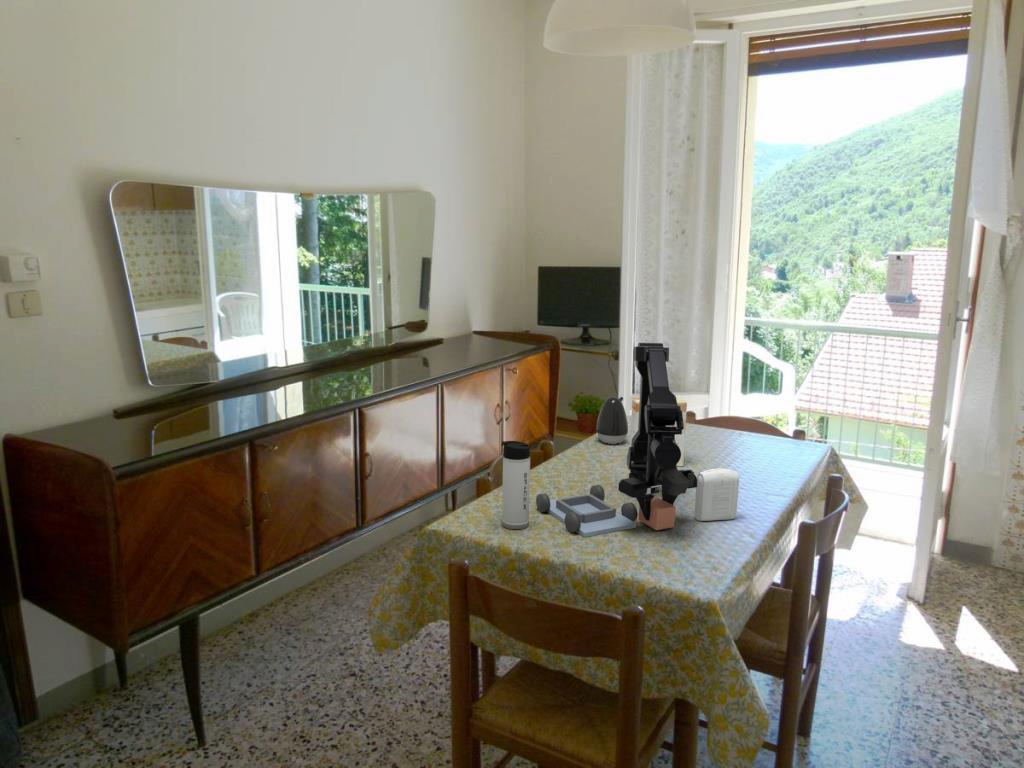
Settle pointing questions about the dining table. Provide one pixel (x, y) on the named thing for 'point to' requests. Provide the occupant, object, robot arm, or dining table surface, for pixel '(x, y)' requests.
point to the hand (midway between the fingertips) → (656, 518)
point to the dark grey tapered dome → (612, 421)
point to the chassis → (588, 513)
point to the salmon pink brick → (659, 514)
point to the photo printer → (716, 495)
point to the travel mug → (516, 485)
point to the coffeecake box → (678, 438)
